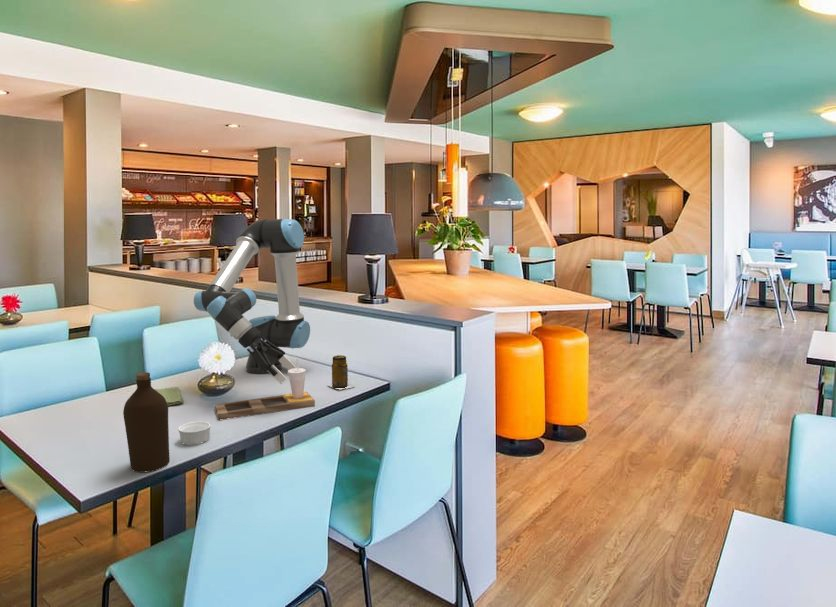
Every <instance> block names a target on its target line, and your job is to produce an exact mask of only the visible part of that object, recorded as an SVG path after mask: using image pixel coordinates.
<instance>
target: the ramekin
mask: <svg viewBox="0 0 836 607" xmlns="http://www.w3.org/2000/svg"><path fill="white" fill-rule="evenodd" d="M177 430H178V433H179V438H180V443H182V444H183V443H184V444H183V445H185V444H196V445H198V444H197V443H201V442H204V441H206V440H207V441H209V439H210V436H211V433H210V432H211V423H209V422H208V421H207V422H206V421H191V422H187V423H184V424H181V425H180V426H179V427H178V429H177ZM207 441H206V442H207ZM204 443H205V442H204ZM201 444H202V443H201Z"/></svg>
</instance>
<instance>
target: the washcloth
mask: <svg viewBox="0 0 836 607" xmlns="http://www.w3.org/2000/svg"><path fill="white" fill-rule="evenodd" d="M154 389H155V390H156V391H157V392H158V393H160V394H161V395H162V396H163V397H164V398H165V399H166V402H167V404H168V407H169V406H176V405H183V404H184V401H185V400H184V398H183V396H182V391H181V389H180V387H168V388H167V387H165V388H160V389H159V388H158V389H157V388H154Z"/></svg>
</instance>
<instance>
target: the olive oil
mask: <svg viewBox="0 0 836 607" xmlns="http://www.w3.org/2000/svg"><path fill="white" fill-rule="evenodd" d="M150 376H151V373H150V372H147V371H146V372H145V371H143V372H139V373H136V380H135V381H136V389H135V390H134V392H132V394H131V395H130V396H129V397H128V398H127V400H126V401H125V404H124V406H123V412H122V414H123V421H124V426H125V434H126V440H127V441H126V442H127V448H128V458H129V465H130V469H131V470H132V471H133V470H134V471H133V472H136V471H137V473H146V472H145V471H149V472H153V471H152V470H154V471H156V469H158V470H160V469H162V467H163V468H165V467H167V465H169V463H170V442H169V441H170V440H169V439H170V436H169V435H170V434H169V426H170V425H169V406H168V404H167V402H166V399H165V398H164V397H163V396H162V395H161V394H160V393H158V392H157V391H156V390H155V389H156V388H154V387H152V378H151V377H150ZM164 466H165V467H164ZM159 468H160V469H159Z"/></svg>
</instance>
